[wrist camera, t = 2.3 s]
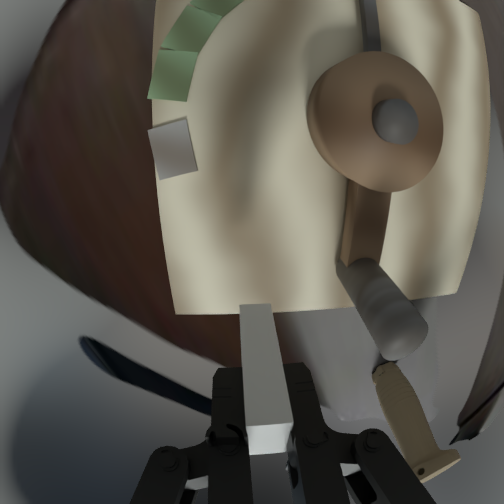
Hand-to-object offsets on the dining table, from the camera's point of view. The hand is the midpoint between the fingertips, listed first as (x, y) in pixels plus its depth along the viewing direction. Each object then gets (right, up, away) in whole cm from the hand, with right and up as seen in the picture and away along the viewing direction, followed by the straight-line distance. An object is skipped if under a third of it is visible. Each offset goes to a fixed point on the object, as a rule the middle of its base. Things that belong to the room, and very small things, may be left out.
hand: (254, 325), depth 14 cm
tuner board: (+7, +12, +2) cm, 14 cm away
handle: (+15, -10, +13) cm, 22 cm away
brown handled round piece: (+7, +13, 0) cm, 15 cm away
